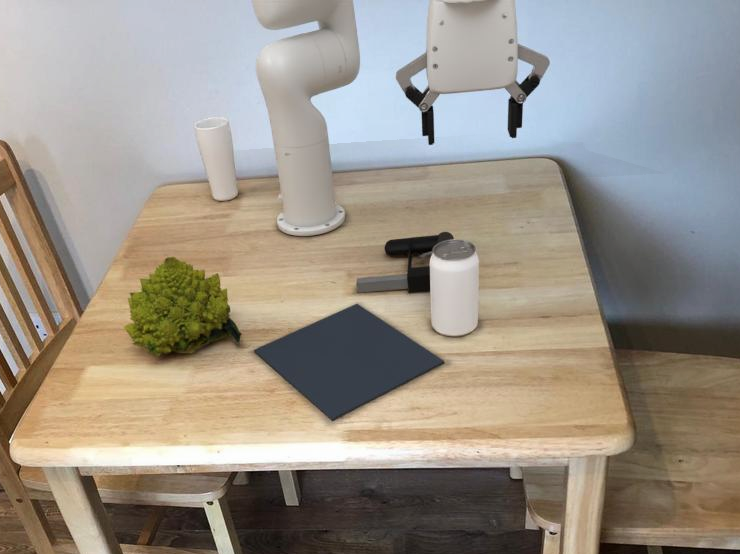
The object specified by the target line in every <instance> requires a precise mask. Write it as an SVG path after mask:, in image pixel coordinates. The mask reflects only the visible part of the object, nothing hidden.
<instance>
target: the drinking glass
mask: <svg viewBox="0 0 740 554" xmlns="http://www.w3.org/2000/svg"><path fill="white" fill-rule="evenodd" d="M193 128H194V134H195V138H196V143H197V147H198V151H199V154H200V157H201V161H202V164H203V167H204V170H205V174H206V177H207V181H208V185H209V188H210V192H211V196H212V198H213V199H214V200H215V201H218V202H227V201H230V200H233V199H235V198H237V197H238V195H239V188H238V180H237V170H236V161H235V160H236V159H235V152H234V142H233V135H232V130H231V126H230V122H229V119H228V118H226V117H223V116H214V117H208V118H203V119H201V120H199V121H196V122H195V123H194V126H193Z"/></svg>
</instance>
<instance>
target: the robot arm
mask: <svg viewBox="0 0 740 554" xmlns="http://www.w3.org/2000/svg"><path fill="white" fill-rule="evenodd" d="M251 3H252V7H253V11H254V15H255V17H256V20H257V22H258V23H259V25H260V26H261V27H262V28H263V29H266V30H269V31H279V30H284V29H289V28H293V27H298V26H302V25H306V24H309V23H314V22H317V26H318V29H316V30H312V31H309V32H305V33H304V32H303V33H300V34H296V35H292V36H288V37H284V38H281V39H277V40H274V41H273V42H271V43H269V44H267V45H265V46H264V47H262V49H260V52H259V53H258V55H257V57H256V60H255V61H256V62H255V72H256V77H257V80H258V81H257V82H258V84H259V87H260V90H261V93H262V96H263V99H264V103H265V107H266V110H267V114H268V120H269V125H270V130H271V137H272V142H273V149H274V155H275V162H276V169H277V175H278V181H279V183H278V184H279V189H280V193H279V194H278V196H277V198H278V200H279V201H281V202H282V208H283V209H282V210H283V211H281V212H280V213H279V215H277V218H276V224H277V228H278V230H279V231H281V232H283V233H284V234H287V235H290V236H295V237H311V236H312V237H313V236H318V235H322V234H327V233H329V232H332V231H334V230H336V229H337V228H339V227H340V226H341V225H343V223H344V222H345V221H346V210H345V209H344V207H342V206H341V205H339V204H338V203H336V197H335V186H334V178H333V177H334V176H333V169H332V167H333V166H332V159H331V151H330V150H331V149H330V140H329V131H328V125H327V121H326V119H325V117H324V115H323V114H322V112H321V111H320V110H319V109H318V108H317V107H316V106H315V105H314V104H313V102H312V101H311V99H313V97H316V96H319V95H320V94H324V93H327V92H330V91H334V90H338V89H340V88H343V87H346V86H348V85H350V84H352V83H353V82H355V80H356V79H357V77H358V75H359V72H360V69H361V52H360V44H359V36H358V28H357V21H356V20H357V19H356V13H355V6H354V5H355V4H354V0H251ZM516 10H517V9H516V1H515V0H429V2H428V7H427V17H426V31H425V32H426V34H425V35H426V36H425V37H426V39H425V52H424V53H422V54H421V55H419V56H417V57H416V58H415V59H413V60H412V61H410V62H409V63H407V64H406V65H404V66H402V67H401V68H400V69H398V70H397V71H396V73H395V80H396V81H397V84H398V85H399V87H400V89H401V90H402V92H403V93H404V96H405V98H406V99H408V100H409V101H410V102H411V103H412V104H413V105H414V106H416V108H418V110H419V111H420V113H421V132H422V133H421V136H422V137H427V142H428V146H433V145H434V144H435V113H434V105H433V104H434V103H435V102H436V100H437V99H438V98H439V96H440V95H450V94H462V93H463V94H464V93H475V92H484V91H492V90H493V91H494V90H502V89H505V91H507V93H508V94H509V95H510V96H509V98H508V100H507V105H508V106H507V132H508V135H509V137H510V138H511V139H516V138H517V137H518V136H517V135H518V134H517V133H518V132H517V131H518V129H522V128H523V115H524V114H523V112H524V103H525V102H526V101H527V98H528V97H529V96H530V95H531V94H532V93H533V92H534V91H535V90H536V89H537V88H538V87H539V85H541V84H540V83H541V80H542V79H543V77H544V75H545V73H546V72H547V70H548V68H549V66H550V64H551V63H550V62H551V61H550V59H549V57H548V56H547V55H545V54H543V53H540V52H538V51H536V50H533V49H531V48H529V47H527V46H525V45H522V44H520V43H518V41H519V40H518V22H517V11H516ZM519 60H520V61H522V62H525V63H527V64H529V65H532V69H531V71H530V73H529V74H528V75H527V76H526V77H525V78H524V80H523V81H522V82H521V83H519V81H517V78H518V68H519V67H518V65H519ZM424 70H425V71H426V72H425V73H426V80H427V86H426V88H425V89H424V90H423V91H420V90H419V89H418V88H417V87H416V86H415V85H414V84H413V82H412V78H413V77H414V76H416V75H417V74H419V73H421V72H422V71H424Z"/></svg>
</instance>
